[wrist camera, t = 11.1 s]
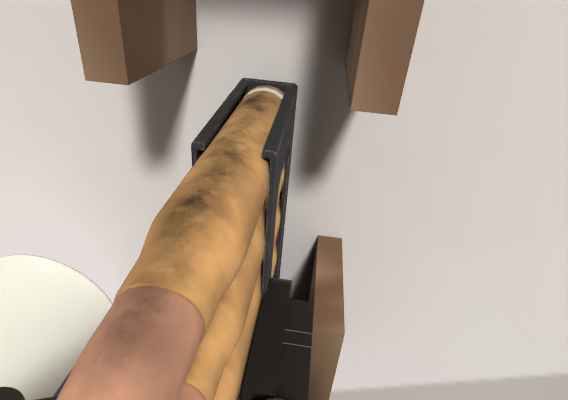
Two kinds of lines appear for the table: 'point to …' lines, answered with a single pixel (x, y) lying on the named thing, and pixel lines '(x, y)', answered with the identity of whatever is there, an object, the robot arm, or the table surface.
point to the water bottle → (44, 323)
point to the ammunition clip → (201, 264)
